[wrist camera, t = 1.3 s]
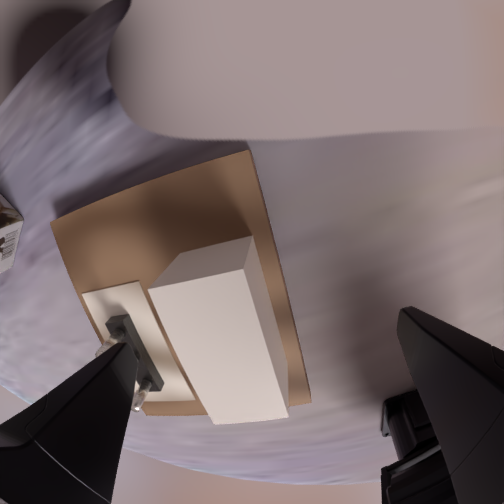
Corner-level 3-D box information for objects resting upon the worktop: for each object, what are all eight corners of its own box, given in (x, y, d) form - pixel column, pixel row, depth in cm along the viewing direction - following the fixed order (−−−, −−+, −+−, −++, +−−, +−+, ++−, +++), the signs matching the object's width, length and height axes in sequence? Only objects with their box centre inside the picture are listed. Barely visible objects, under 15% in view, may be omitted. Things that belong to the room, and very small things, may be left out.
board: (310, 390, 23) (311, 403, 22) (151, 405, 26) (146, 416, 24) (250, 150, 18) (248, 149, 16) (61, 217, 20) (49, 222, 19)
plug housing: (287, 363, 21) (288, 417, 16) (226, 372, 21) (214, 424, 16) (252, 235, 18) (243, 268, 13) (180, 253, 19) (147, 289, 13)
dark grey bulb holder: (165, 382, 22) (149, 417, 18) (147, 382, 23) (130, 416, 19) (129, 313, 20) (103, 344, 16) (111, 315, 21) (85, 345, 17)
